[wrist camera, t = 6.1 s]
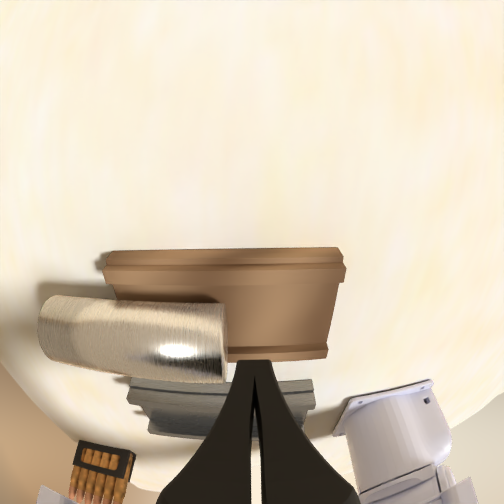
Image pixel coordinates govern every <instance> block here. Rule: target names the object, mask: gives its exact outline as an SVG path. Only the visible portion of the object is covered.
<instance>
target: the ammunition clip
mask: <svg viewBox="0 0 504 504" xmlns="http://www.w3.org/2000/svg"><path fill="white" fill-rule="evenodd" d="M135 458H136V455H135V454H134V453H133V452H131V451H130V450H125V449H119V448H113V447H108V446H103V445H99V444H94V443H90V442H86V441H82V440H79V443H78V446H77V450H76V453H75V457H74V461H73V465H74V468H73V471H72V475H71V483H70V488H69V499H71V500H73V498H74V497H75V494H76V491H77V503H79V504H80V503H81V502H82V500H83V497H84V494H85V491H86V494H85V504H91V502H92V498H93V495H94V500H93V504H101V501H102V498H103V494H104V499H103V504H111V502H112V499H113V496H114V500H113V504H122V502H123V499H124V497H125V493H126V487H127V483H128V482H130V478H131V474H132V470H133V466H134V462H135ZM77 489H78V490H77ZM94 492H95V493H94Z"/></svg>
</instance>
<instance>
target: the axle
mask: <svg viewBox="0 0 504 504" xmlns="http://www.w3.org/2000/svg"><path fill="white" fill-rule="evenodd" d="M38 338H39V342H40V345H41V348H42V350H43V352H44V353H45V355H46V356H47V357H48V358H49V359H51V360H53V361H56V362H59V363H63V364H67V365H72V366H76V367H80V368H85V369H90V370H95V371H100V372H105V373H111V374H117V375H123V376H130V377H137V378H144V379H152V380H162V381H172V382H184V383H200V384H225V383H226V377H227V363H228V329H227V313H226V306H225V303H178V302H150V301H130V300H113V299H98V298H85V297H73V296H63V295H54V296H52V297H50V298H49V299H48V300H47V301H46V302H45V303H44V305H43V306H42V308H41V311H40V314H39V318H38Z"/></svg>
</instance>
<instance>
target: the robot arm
mask: <svg viewBox="0 0 504 504" xmlns="http://www.w3.org/2000/svg"><path fill="white" fill-rule="evenodd" d="M433 384H434V382H433V380H429V381H426V382H422V383H419V384H415V385H411V386H407V387H403V388H399V389H395V390H391V391H386V392H382V393H377V394H372V395H367V396H361V397H355V398H352V399H351V400H350V401H349V402H348V405H347V407H346V408H345V410H344V412H343V414H342V416H341V418H340V420H339V422H338V424H337V426H336V427H335V429H334V431H333V433H332V434H333V436H334V437H336V436H342V435H346V438H347V443H348V447H349V452H350V456H351V461H352V465H353V470H354V474H355V479H356V484H357V489H358V494H359V495H357V493H356V491H355V489H354V487H353V486H352V485H351V484H350V483H348V482H347V481H346V480H345V479H344V478H343V477H342V476H341V475H340V474H338V473H337V472H336V471H335V470H334V469H333V467H332V466H331V465H330V464H329V463H328V462H327V461H326V460H325V459H324V458H323V456H322V455H321V454H320V453H319V452H318V451H317V449H316V448H315V447H314V446H313V444H312V443H311V442H310V440H309V439H308V438H307V436H306V435H305V433H304V432H303V430H302V429H301V427H300V426H299V424H298V422H297V421H296V419H295V417H294V416H293V414H292V412H291V410H290V408H289V407H288V405H287V403H286V401H285V398H284V396H283V394H282V392H281V390H280V387H279V385H278V382H277V380H276V377H275V374H274V371H273V367H272V363H271V360H269V359H259V360H238V361H237V365H236V370H235V374H234V378H233V381H232V384H231V387H230V390H229V392H228V395H227V397H226V400H225V402H224V405H223V407H222V409H221V411H220V413H219V415H218V417H217V419H216V421H215V423H214V425H213V426H212V428H211V430H210V432H209V433H208V435H207V437H206V438H205V440H204V441H203V443H202V444H201V446H200V447H199V449H198V450H197V451H196V453H195V454H194V456H193V457H192V458H191V459H190V461H189V462H188V463H187V464H186V465H185V467H184V468H183V469H182V470H181V471H180V473H179V474H178V475H177V476H176V477H175V478H174V479H173V480H172V481H171V482H170V483H169V484H168V485H167V486H166V487H165V488H164V489H163V490H162V492H161V493H160V495H159V497H158V499H157V502H156V504H251V444H252V432H253V421H254V409H255V415H256V423H257V431H258V438H259V446H260V456H261V494H262V504H478V500H477V497H476V494H475V490H474V487H473V484H472V481H471V478H470V477H468V478H466V479H464V480H462V481H461V482H459V483H456V480H455V478H454V475H453V472H452V470H451V468H450V467H449V466H444V465H441V466H439V467H437V466H438V465H439V464H441V463H442V462H444V461H445V460H446V458H447V457H448V455H449V453H450V451H451V445H452V437H451V432H450V428H449V426H448V423H447V421H446V419H445V417H444V414H443V412H442V410H441V408H440V406H439V404H438V402H437V399H436V397H435V395H434V393H433V391H432V389H431V387H432V386H433ZM36 504H79V503H77V502H75V501H73V500H71V499H69V498H66V497H65V496H63V495H61V494H59V493H57V492H55V491H53V490H51V489H49V488H47V487H45V486H43V485H42V486H41V487H40V491H39V494H38V498H37V502H36Z"/></svg>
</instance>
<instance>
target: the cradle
mask: <svg viewBox="0 0 504 504" xmlns="http://www.w3.org/2000/svg"><path fill="white" fill-rule="evenodd" d="M231 384H232V383H225V384H200V383H184V382H172V381H162V380H152V379H144V378H137V377H132V379H131V382H130V385H129V386H130V389H129V392H128V395H127V398H126V399H127V400H128V402H129V404H133V405H139V406H142V408H143V410H144V411H145V413H146V414H147V416H148V418H149V419H150V421H149V425H148V429H147V430H148V432H149V433H150V434H156V435H163V436H171V437H180V438H190V439H202V440H205V438H206V437H207V435H208V433H209V432H210V430H211V428H212V426H213V425H214V423H215V421H216V419H217V417H218V415H219V413H220V411H221V409H222V407H223V405H224V402H225V400H226V397H227V395H228V392H229V390H230V387H231ZM278 385H279V387H280V390H281V392H282V394H283V396H284V398H285V401H286V403H287V405H288V407H289V408H290V410H291V412H292V414H293V416H294V417H295V419H296V421H297V422H298V424H299V426H300V427H301V429H302V430H303V432H304V433H305V431H304V424H303V423H304V420H305V417H306V414H307V411H308V410H313V409H314V408H315V405H316V402H315V397H314V392H313V391H314V388H313V383H312V380H300V381H285V382H278ZM252 441H259V438H258V431H257V423H256V415H255V409H254V421H253V432H252Z"/></svg>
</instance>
